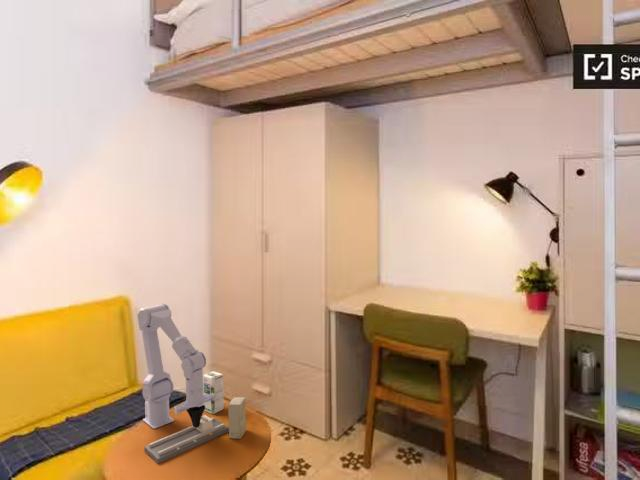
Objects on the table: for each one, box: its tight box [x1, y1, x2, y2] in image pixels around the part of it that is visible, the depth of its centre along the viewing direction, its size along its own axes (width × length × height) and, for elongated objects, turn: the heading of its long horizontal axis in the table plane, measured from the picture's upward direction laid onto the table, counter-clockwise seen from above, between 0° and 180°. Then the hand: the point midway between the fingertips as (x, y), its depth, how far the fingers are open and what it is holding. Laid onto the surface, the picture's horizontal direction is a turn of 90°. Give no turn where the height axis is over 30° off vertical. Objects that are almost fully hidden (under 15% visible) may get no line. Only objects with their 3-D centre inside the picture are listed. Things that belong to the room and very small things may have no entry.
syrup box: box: [203, 370, 225, 415], centre depth 163 cm, size 6×6×14 cm
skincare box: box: [227, 396, 247, 440], centre depth 145 cm, size 6×4×12 cm
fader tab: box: [195, 414, 213, 433], centre depth 146 cm, size 5×4×4 cm
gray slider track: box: [143, 416, 229, 464], centre depth 142 cm, size 10×26×2 cm, turn 136°
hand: (196, 426), depth 144 cm, fingers closed
